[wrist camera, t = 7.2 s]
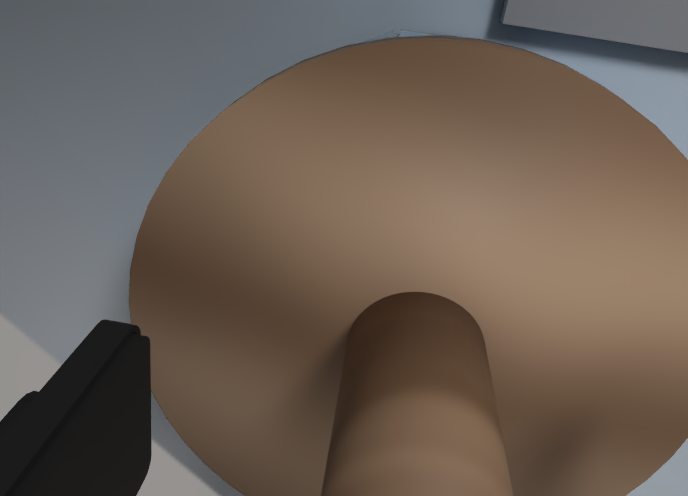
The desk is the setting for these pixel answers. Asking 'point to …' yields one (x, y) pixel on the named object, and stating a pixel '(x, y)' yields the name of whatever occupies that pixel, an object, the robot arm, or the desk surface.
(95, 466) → the robot arm
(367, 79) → the lid
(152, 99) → the desk surface
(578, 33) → the mat
